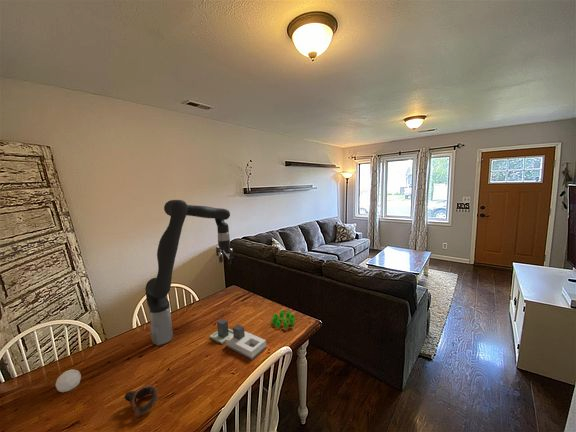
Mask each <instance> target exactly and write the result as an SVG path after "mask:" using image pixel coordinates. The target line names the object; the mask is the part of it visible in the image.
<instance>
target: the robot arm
mask: <svg viewBox="0 0 576 432" xmlns="http://www.w3.org/2000/svg"><path fill="white" fill-rule="evenodd" d="M163 210H164V212H165V214H166V215H168V216H170V217H169V219H170V220H169V223H168V226H167V227H166V229H165V231H164V232H163V233H162V235H161V236H160V240H159V242H158V246H157V251H156V258H157V264H158V271H157V275H156V277H153V278H151V279H150V280H147V282H146V284H145V290H144V291H145V297H146V303H147V306H148V309H149V313H150V324H149V329H150V336H151V343H152V344H154V345H156V346H161V345H165V344H167V343H169V342H170V341H171V340H172V339H173V338H174V332H173V324H172V314H171V313H172V312H171V304H170V301H169V300H168V298H167V296H168V295H169V293H170V291H171V286H172V279H173V270H174V266H175V261H176V256H177V252H178V249H179V243H180V238H181V234H182V231H183V225H184V223H185V220H186V217H187V216H191V217H197V218H203V219H214V221H215V225H216V227H217V243H218V244H217V246H216V248H215V250H216V251H215V253H216V254H215V255H216V256H217V257H218V261H219V263H223V261H224V259H223V256H224V255H225V256H226V257H227V262H228V265H232V262H233V260H232V259H234V258H235V255H234V248H230V247H231V237H230V229H229V228H230V227H229V224H228V223H227V222H226V221H225V220H228V219H229V218H230V217H231V212H230V210H228V209H227V208H218V207H217V208H216V207H212V206H206V205H193V204H187V202H186V201H184V200H182V199H170V200H168V201H167V202H165V204H164V206H163Z"/></svg>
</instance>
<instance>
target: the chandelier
mask: <svg viewBox="0 0 576 432" xmlns="http://www.w3.org/2000/svg"><path fill="white" fill-rule="evenodd" d="M285 313H286V314H285ZM284 314H285V317H284ZM296 319H297V316H296V315H295V314H294V313H292V314H291V312H290V311H287V312H286V311H285V310H280V312H279V315H278V313H273V314H272V318H271V319H270V321H271V322H270V323H271V325H275V328H277V329H279V328H281V325H282V322H283V327H284V328H285V329H288V324H289V325H290V326H294V325H295V324H296V321H295V320H296Z"/></svg>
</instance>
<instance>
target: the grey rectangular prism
mask: <svg viewBox="0 0 576 432" xmlns="http://www.w3.org/2000/svg"><path fill="white" fill-rule="evenodd" d="M216 327H217V331H218V336H220V337H222V338H225V337H227V336H228V335H229V332H228V329H229V321H228V320H226V319H224V318H221V319H219V320H217V321H216Z"/></svg>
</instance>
